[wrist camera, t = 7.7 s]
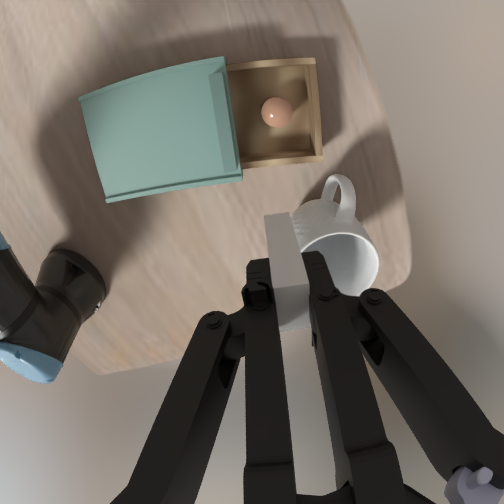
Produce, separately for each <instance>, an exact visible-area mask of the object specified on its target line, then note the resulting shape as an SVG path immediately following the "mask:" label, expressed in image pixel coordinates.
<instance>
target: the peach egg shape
mask: <svg viewBox="0 0 504 504" xmlns="http://www.w3.org/2000/svg"><path fill="white" fill-rule="evenodd" d="M261 114H262V118H263V120H264V121H265V122H266V123H267V124H268V125H270V126H272V127H283V126H285V125H287V124H288V123H289V122H290V120H291V119H292V116H293V110H292V107H291V105H290V104H289V103H288V102H287V101H286V100H284V99H283V98H281V97H277V96H272V97H269V98H267V99H266V100H264V102H263V103H262V105H261Z"/></svg>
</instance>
